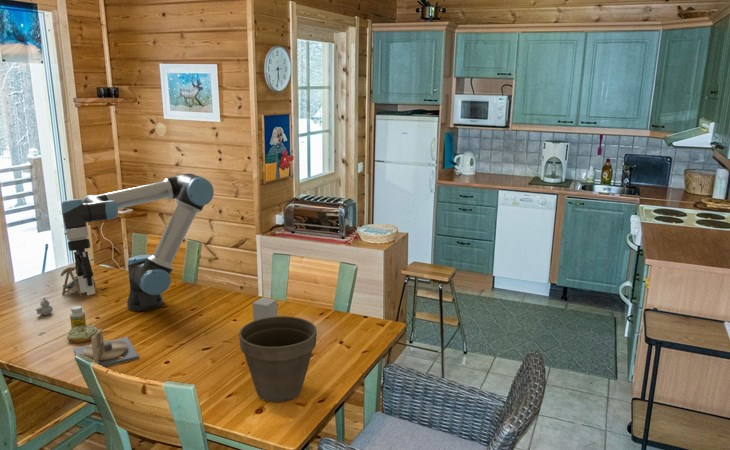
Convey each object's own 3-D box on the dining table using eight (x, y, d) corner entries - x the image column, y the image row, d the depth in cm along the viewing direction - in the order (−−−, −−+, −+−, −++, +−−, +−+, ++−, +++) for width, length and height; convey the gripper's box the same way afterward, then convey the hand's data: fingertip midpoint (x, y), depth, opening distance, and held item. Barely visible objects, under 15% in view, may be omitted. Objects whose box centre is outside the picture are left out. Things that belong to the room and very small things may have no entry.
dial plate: (127, 339, 222) (127, 336, 221) (139, 358, 207) (138, 355, 206) (73, 350, 211) (73, 347, 211) (81, 372, 196) (81, 368, 196)
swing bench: (78, 285, 279) (74, 256, 276) (97, 285, 279) (94, 257, 275) (61, 295, 265) (57, 265, 261) (81, 296, 265) (78, 266, 261)
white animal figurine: (55, 313, 244) (53, 296, 243) (40, 318, 239) (38, 301, 237) (49, 310, 247) (47, 293, 245) (33, 315, 242) (31, 298, 240)
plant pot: (262, 367, 202) (261, 310, 197) (327, 378, 195) (327, 320, 190) (226, 403, 179) (223, 340, 173) (298, 417, 172) (298, 352, 167)
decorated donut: (62, 344, 217) (61, 335, 216) (74, 332, 227) (73, 323, 226) (90, 344, 218) (89, 335, 217) (101, 332, 228) (100, 323, 227)
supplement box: (278, 328, 234) (277, 299, 231) (268, 335, 228) (267, 305, 225) (263, 324, 237) (262, 296, 234) (253, 331, 231) (252, 302, 228)
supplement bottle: (85, 325, 233) (83, 304, 231) (87, 330, 229) (85, 308, 226) (70, 328, 230) (68, 306, 228) (72, 333, 226) (70, 311, 224)
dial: (92, 342, 215) (90, 318, 213) (133, 342, 216) (131, 317, 214) (73, 364, 199) (70, 337, 196) (117, 363, 200) (115, 337, 198)
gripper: (62, 241, 226) (71, 293, 228) (73, 240, 206) (83, 297, 207) (82, 238, 231) (91, 289, 232) (95, 237, 210) (105, 293, 212)
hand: (87, 293), depth 220 cm, fingers open, 13 cm apart
